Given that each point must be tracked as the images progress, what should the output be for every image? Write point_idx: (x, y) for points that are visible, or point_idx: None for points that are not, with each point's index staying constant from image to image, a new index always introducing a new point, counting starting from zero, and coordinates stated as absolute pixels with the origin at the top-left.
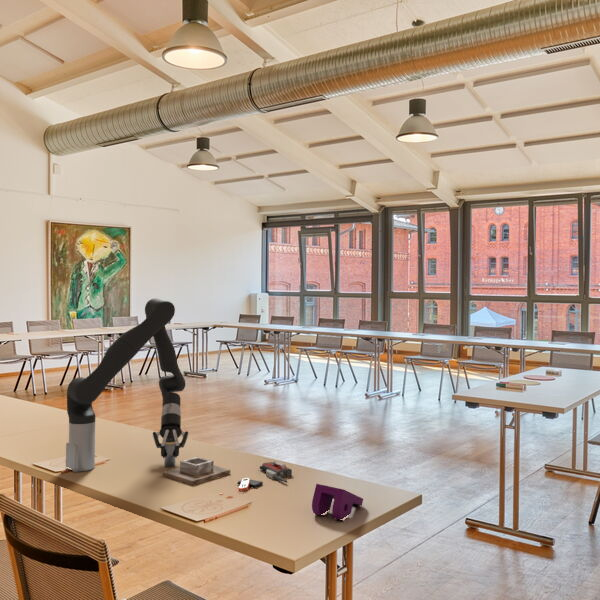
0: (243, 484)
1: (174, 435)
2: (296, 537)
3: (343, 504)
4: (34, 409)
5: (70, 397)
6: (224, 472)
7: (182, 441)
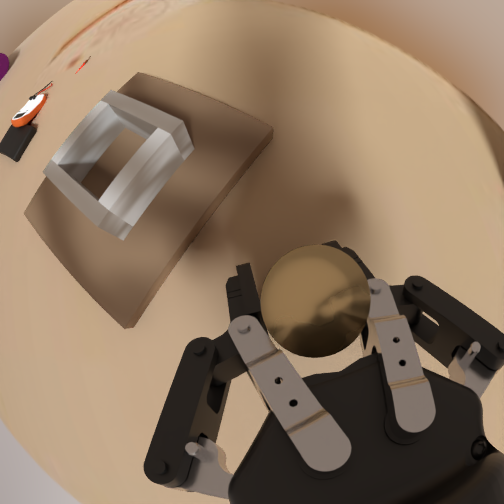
0: (31, 103)
1: (301, 396)
2: (52, 22)
3: None
4: None
5: None
6: (40, 188)
7: (200, 363)
